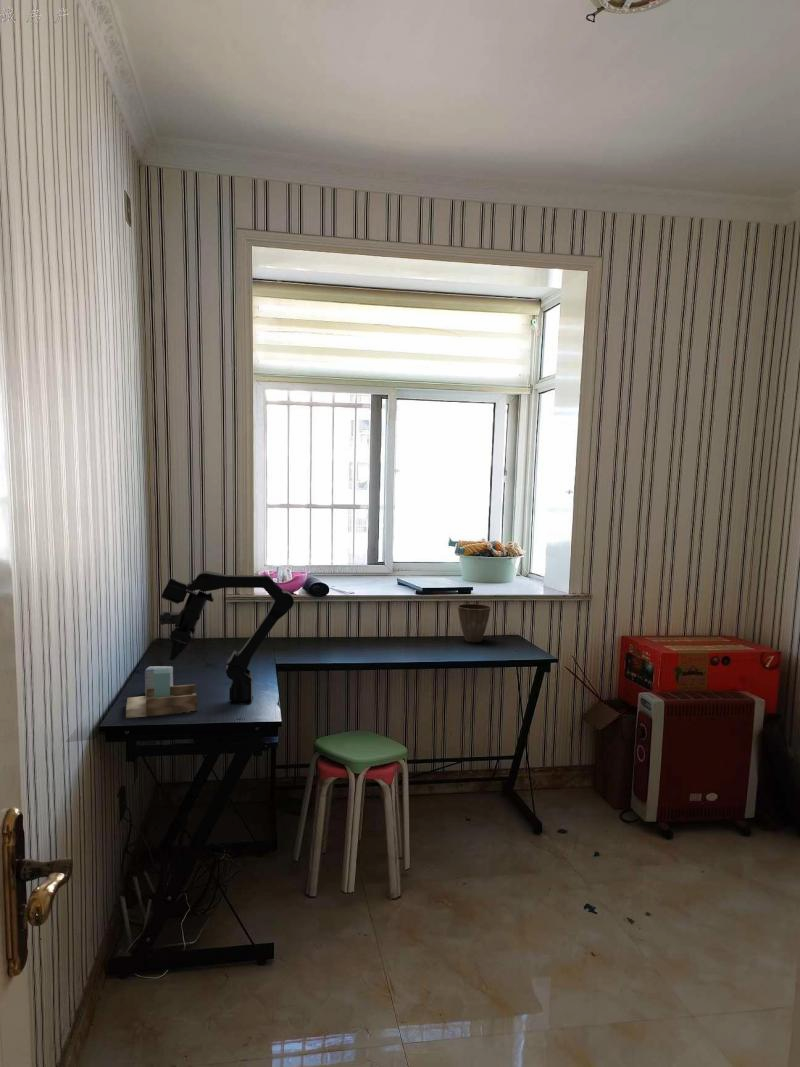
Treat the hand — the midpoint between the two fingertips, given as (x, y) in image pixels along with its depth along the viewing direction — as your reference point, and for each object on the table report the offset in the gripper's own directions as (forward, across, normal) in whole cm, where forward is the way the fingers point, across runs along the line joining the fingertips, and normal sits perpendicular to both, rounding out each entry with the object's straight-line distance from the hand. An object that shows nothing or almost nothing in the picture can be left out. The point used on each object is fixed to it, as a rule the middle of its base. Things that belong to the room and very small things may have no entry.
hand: (172, 656), depth 204 cm
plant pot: (-33, -72, +121) cm, 145 cm away
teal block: (+13, +3, +2) cm, 14 cm away
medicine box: (+17, -13, +1) cm, 21 cm away
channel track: (+16, +3, +3) cm, 16 cm away
